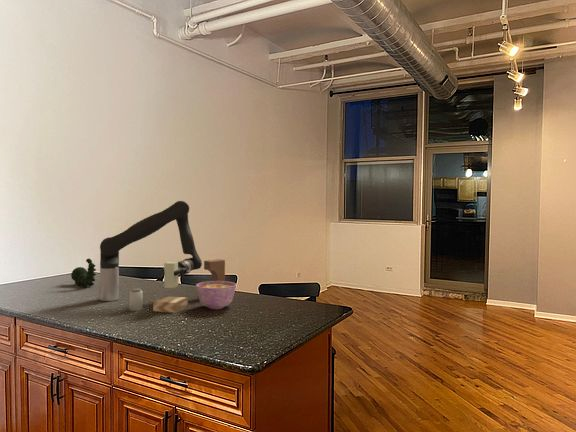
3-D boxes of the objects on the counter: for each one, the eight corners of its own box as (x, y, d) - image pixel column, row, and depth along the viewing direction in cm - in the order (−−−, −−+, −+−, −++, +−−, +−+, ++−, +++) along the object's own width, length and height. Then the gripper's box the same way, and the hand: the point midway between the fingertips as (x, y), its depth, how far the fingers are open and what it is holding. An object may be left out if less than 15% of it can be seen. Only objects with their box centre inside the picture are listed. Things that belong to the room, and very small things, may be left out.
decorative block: (209, 297, 238) (209, 261, 238) (203, 296, 242) (203, 260, 242) (225, 294, 246) (225, 260, 245) (219, 293, 250) (219, 259, 249)
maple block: (153, 311, 207) (153, 301, 207) (166, 306, 219) (166, 296, 219) (175, 313, 204) (175, 303, 204) (187, 307, 216) (187, 297, 216)
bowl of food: (220, 300, 230) (220, 279, 230) (244, 307, 216) (244, 284, 216) (188, 306, 216) (188, 284, 216) (210, 314, 202) (211, 290, 202)
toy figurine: (99, 289, 264) (81, 281, 280) (100, 259, 262) (82, 252, 278) (83, 292, 257) (66, 283, 273) (85, 261, 255) (67, 253, 271)
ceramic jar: (127, 310, 207) (127, 290, 207) (133, 307, 213) (133, 287, 213) (139, 311, 206) (139, 290, 206) (144, 308, 212) (144, 288, 212)
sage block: (164, 287, 210) (164, 263, 209) (168, 285, 215) (168, 261, 214) (174, 288, 209) (174, 263, 209) (177, 286, 214) (177, 262, 214)
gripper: (168, 260, 227) (155, 265, 210) (194, 261, 225) (183, 266, 208) (168, 274, 227) (155, 280, 210) (194, 275, 225) (183, 281, 208)
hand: (169, 273), depth 209 cm, fingers closed on sage block, 5 cm apart
